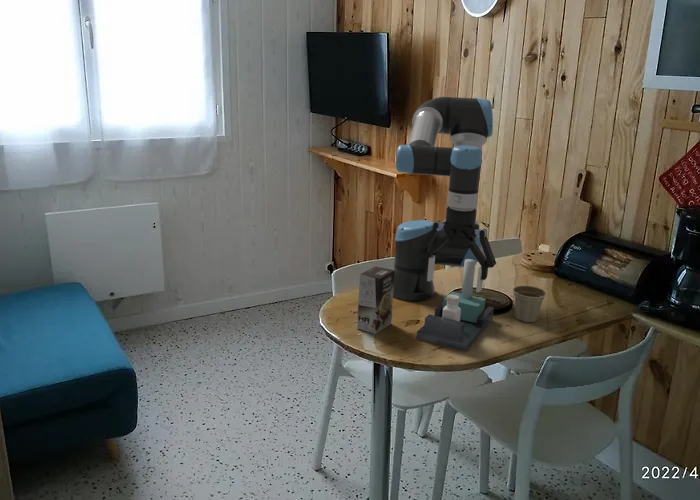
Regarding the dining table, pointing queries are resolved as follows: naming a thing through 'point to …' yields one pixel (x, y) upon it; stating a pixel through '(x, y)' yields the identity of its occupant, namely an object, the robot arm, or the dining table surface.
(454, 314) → the pepper shaker
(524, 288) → the flower pot
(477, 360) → the dining table surface
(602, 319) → the dining table surface
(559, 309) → the dining table surface
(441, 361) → the dining table surface
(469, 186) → the robot arm
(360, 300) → the coffee box
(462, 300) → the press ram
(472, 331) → the tray
